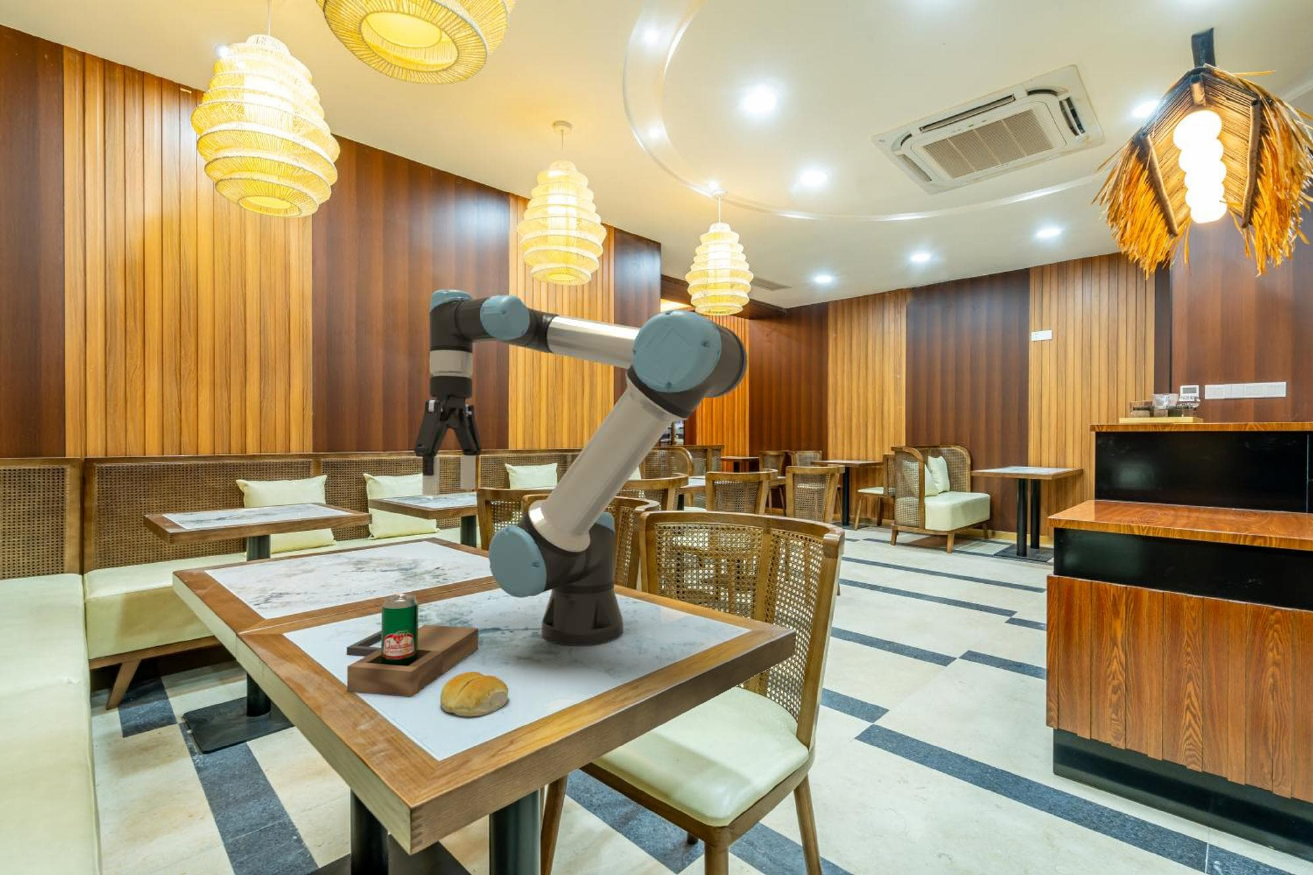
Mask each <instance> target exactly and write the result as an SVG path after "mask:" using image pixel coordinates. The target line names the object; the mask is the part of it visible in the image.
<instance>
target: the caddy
mask: <svg viewBox="0 0 1313 875" xmlns="http://www.w3.org/2000/svg"><path fill="white" fill-rule="evenodd" d="M478 649H479V628H478V627H477V628H476V627H465V626H463V627H462V626H452V625H451V626H449V625H435V624H434V625H433V624H424V625H422V626H420V627H418V660H417V661H415V662H414V663H412V664H410V665H409V666H397V665H385V664H381V649H379V650H377V651H375V652H373V653H371V654H370V655H368V656H363V658H361V659H359V660H357V661H355V662H352V663H351V664H349V665H347V670H346V671H347V676H346V677H347V678H346V679H347V680H346V681H347V685H346V689H347V690H346V691H347V692H355V693H367V694H376V695H388V696H400V697H410V698H411V697H413V696H414V695H416V694H417V693H419V692H420V691H421V690H423V689H424V688H426V687H427V686H429V684H431V683H432V682H434V681H435V680H437V679H438V678H439V677H441V676H442V675H443V674H445V673H447V672H448V671H449V670H451V669H452V668H453V667H455V666H457V664H459V663H460V662H462V661H463V660H465V659H466V658H467V657H468V656H470V655H472V654H474V652H475V651H477V650H478Z"/></svg>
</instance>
